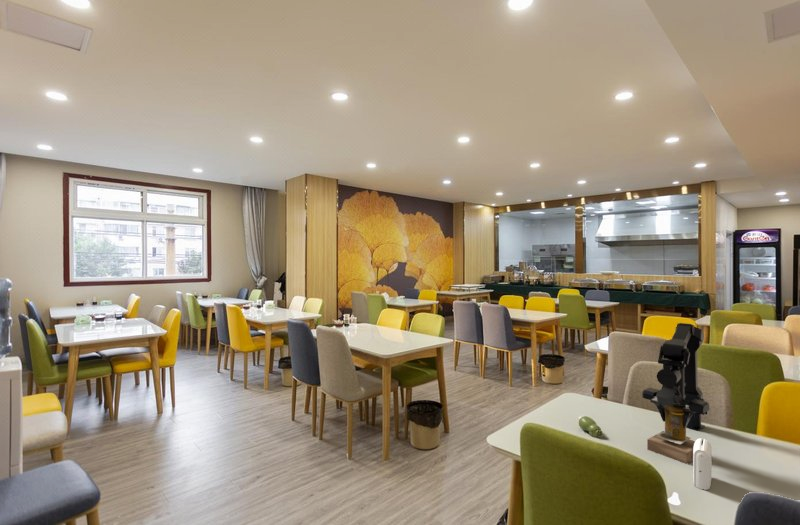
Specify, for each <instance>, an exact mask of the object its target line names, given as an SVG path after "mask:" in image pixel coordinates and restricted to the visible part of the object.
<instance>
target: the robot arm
mask: <svg viewBox="0 0 800 525" xmlns="http://www.w3.org/2000/svg"><path fill="white" fill-rule="evenodd" d="M704 339H705V334H704V332H703V330H702V329H701V328H699V327H696V326H695V325H694V324H692V323H686V322H685V323H684V322H678V323H677V324H676V327H675V331H674V334H673V336H672V337H671V338H670V339H668V340H665V341H664V342H663V343H662V345H660V347H659V348H660V349H659V354H658V360H657V364H661V365H662V368H661V369H660V370H658V371H657V374H656V379H657V381H658V382H659V384H660V385H661V389H657V388H652V387H648V388H646V389H643V391H642V392H641V397H642V398H643V399H646V400H648V401H649V400H650V403H653V404H654V405H655V406H656V408H657V409H658V413H659V415H660V418H661V420H662V422H664V423H665V409H666V406H668V407H673V406H674V404H679V405H680V404H682V405H684V406H685V407H684V408H685V409H684V410H683V412H684V420H683V427H684V428H686V429H687V428H688V429H693V430H695V431H700V430H702V429H704V428H705V425H704V424H702V415H703V416H705V415H708V412H709V411H710V404H709V403H708V401H706V399H704V393H703V392H702V390H701V389H700V388H699V385H698V384H699V381H698V380H699V379H698V378H699V377H698V350H699V348H700V347H701V346H702V344H703V343H704V341H705V340H704Z"/></svg>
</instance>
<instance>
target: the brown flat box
mask: <svg viewBox="0 0 800 525" xmlns="http://www.w3.org/2000/svg"><path fill="white" fill-rule="evenodd" d="M664 432H665V430H662V431H660V432H658V433H656V434H655V435H653V436H651V437H649V438H647V442H646V443H647V447H646V448H647V450H648V451H650V452H653V453H655V454H659V455H661V456H664V457H667V458H669V459H672V460H675V461H678V462H680V463H684V464H685V465H688V464H689V463H690V462H692V461H693V447H694V443H695V441H696V440H692V439H691V438H690V439H689V440H687V441H685V442H683V443H682V444H677V443H674V442H671V441H668V440H665V439H663V438H660V437H658V436H657V435H660V434H661V433H664Z"/></svg>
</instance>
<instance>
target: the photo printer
mask: <svg viewBox="0 0 800 525" xmlns="http://www.w3.org/2000/svg"><path fill="white" fill-rule="evenodd" d="M694 441H695V443H694V447H693V460H692V461H693V462H692V470H693V471H692V480H693V486H695V487H696V488H697V487H698V488H697V489H699V490H700V489H701V490H703V489H704V491H707V490H710V488H711V486H712V485H711V483H712V475H713V474H712V472H713V470H712V468H713V466H712V465H713V464H712V461H713V460H712V458H713V457H712V455H713V454H712V444H711V443H710V441H709V440H707V439H705V438H700V437H699V438H697V439H696V440H694Z"/></svg>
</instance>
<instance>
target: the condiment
mask: <svg viewBox="0 0 800 525" xmlns="http://www.w3.org/2000/svg"><path fill="white" fill-rule="evenodd" d="M684 407H685V406H684V405H682V404H680V405H679V404H674V406H673V407H668V406H667V405H666V409H665V422H664V431H665V432H664V433H661V434H660V435H657V436H658V437H660V438H663V439H665V440H668V441H671V442H674V443H677V444H682V443H683V442H685V441H687V440H689V439H690V440H691V437H690V436H687V433H686V432H687V427H686V428H684V427H683V420H684V412H683V410H684V409H685V408H684Z"/></svg>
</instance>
